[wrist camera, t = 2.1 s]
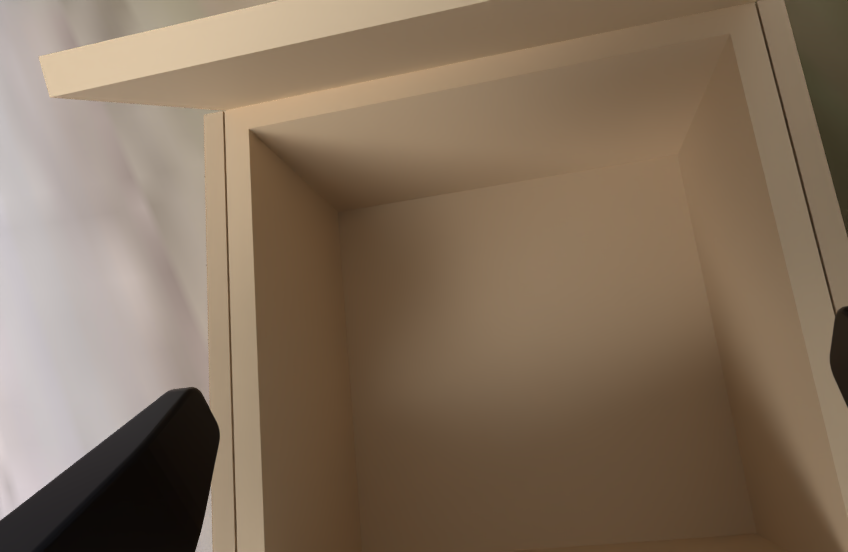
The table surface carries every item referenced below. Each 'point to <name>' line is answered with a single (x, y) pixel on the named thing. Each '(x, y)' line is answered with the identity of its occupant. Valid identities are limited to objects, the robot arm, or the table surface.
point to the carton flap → (328, 46)
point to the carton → (533, 303)
